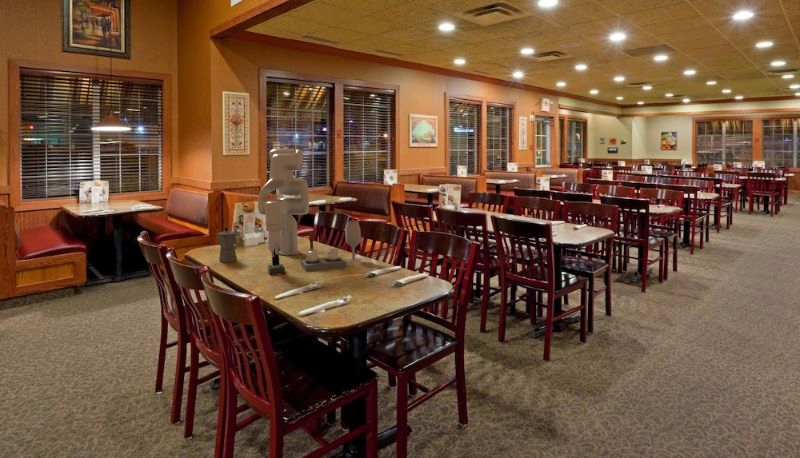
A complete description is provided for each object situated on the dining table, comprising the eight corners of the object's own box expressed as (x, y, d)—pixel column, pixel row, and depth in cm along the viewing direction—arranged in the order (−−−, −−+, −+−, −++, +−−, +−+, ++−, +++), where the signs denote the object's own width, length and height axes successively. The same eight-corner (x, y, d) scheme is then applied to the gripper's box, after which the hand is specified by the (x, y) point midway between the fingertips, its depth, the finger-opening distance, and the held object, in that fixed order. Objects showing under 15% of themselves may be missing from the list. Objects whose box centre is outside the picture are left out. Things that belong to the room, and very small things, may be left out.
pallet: (301, 267, 252) (300, 260, 252) (339, 263, 260) (339, 256, 259) (305, 272, 241) (305, 265, 241) (346, 268, 249) (345, 261, 248)
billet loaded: (327, 264, 254) (326, 249, 252) (336, 263, 255) (336, 248, 254) (329, 267, 249) (329, 251, 248) (339, 266, 251) (338, 250, 250)
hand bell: (321, 259, 270) (320, 229, 267) (317, 262, 262) (316, 232, 259) (306, 258, 271) (305, 229, 268) (302, 262, 263) (300, 232, 260)
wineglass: (361, 263, 260) (360, 223, 257) (344, 263, 260) (343, 223, 257) (362, 259, 269) (361, 220, 265) (346, 259, 269) (345, 220, 265)
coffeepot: (235, 263, 261) (233, 229, 258) (216, 264, 260) (213, 229, 257) (240, 256, 276) (238, 224, 273) (222, 257, 275) (220, 225, 272)
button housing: (268, 271, 244) (267, 265, 244) (282, 270, 247) (282, 264, 246) (269, 274, 238) (269, 268, 237) (284, 273, 240) (284, 267, 240)
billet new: (307, 266, 250) (306, 250, 249) (316, 265, 252) (315, 249, 251) (309, 268, 246) (308, 252, 244) (319, 267, 247) (318, 251, 246)
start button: (271, 269, 243) (270, 264, 243) (280, 268, 245) (280, 263, 244) (272, 271, 239) (271, 266, 239) (281, 270, 241) (281, 265, 240)
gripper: (264, 225, 244) (266, 262, 247) (268, 230, 230) (270, 269, 233) (279, 224, 247) (281, 261, 250) (284, 229, 233) (286, 267, 236)
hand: (275, 264), depth 241 cm, fingers closed
